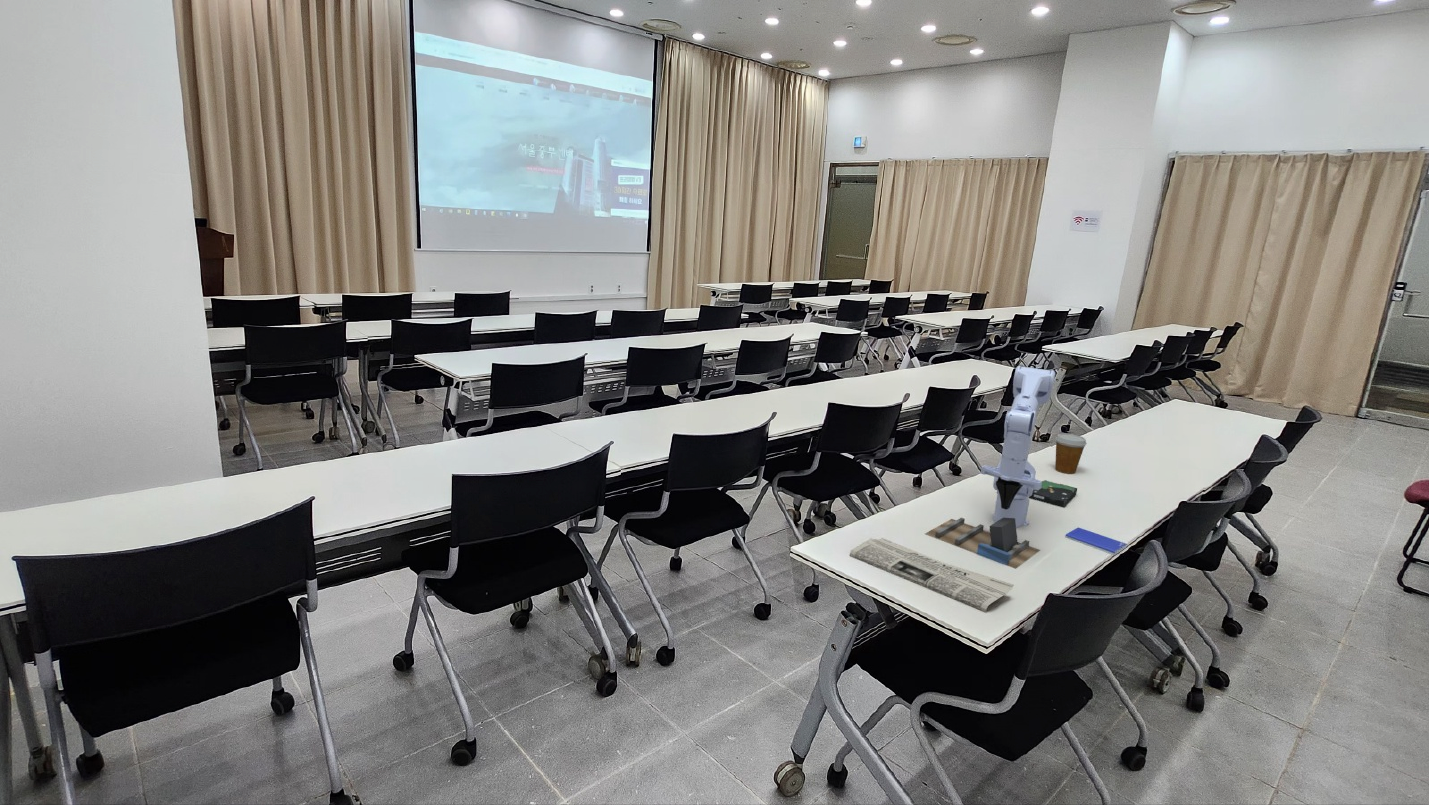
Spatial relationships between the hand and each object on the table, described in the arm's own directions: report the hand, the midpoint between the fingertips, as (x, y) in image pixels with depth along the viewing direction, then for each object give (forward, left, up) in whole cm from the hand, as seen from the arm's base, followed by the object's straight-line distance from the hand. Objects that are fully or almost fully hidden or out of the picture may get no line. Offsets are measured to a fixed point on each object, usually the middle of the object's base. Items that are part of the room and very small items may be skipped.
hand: (1005, 507), depth 178 cm
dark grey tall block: (+4, +3, -9) cm, 10 cm away
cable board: (+4, -3, -10) cm, 11 cm away
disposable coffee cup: (-75, -10, -11) cm, 77 cm away
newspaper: (+29, -4, -11) cm, 31 cm away
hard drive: (-23, +16, -11) cm, 30 cm away
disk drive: (-47, -4, -11) cm, 49 cm away
